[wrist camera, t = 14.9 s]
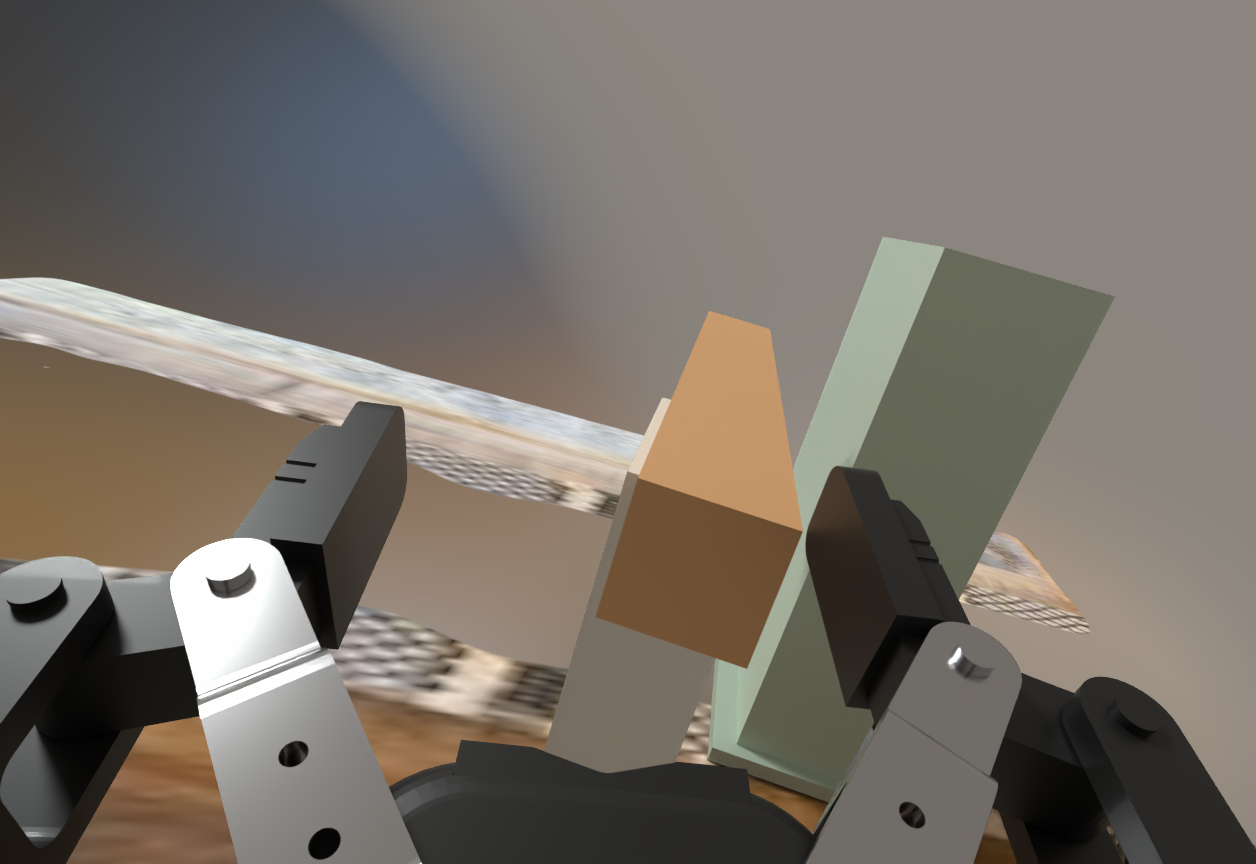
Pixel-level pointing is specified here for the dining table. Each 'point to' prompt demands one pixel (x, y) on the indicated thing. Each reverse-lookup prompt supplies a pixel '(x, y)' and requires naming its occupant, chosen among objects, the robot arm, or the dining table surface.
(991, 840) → the dining table surface
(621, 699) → the post
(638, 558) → the bar
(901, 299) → the stand
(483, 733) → the dining table surface
